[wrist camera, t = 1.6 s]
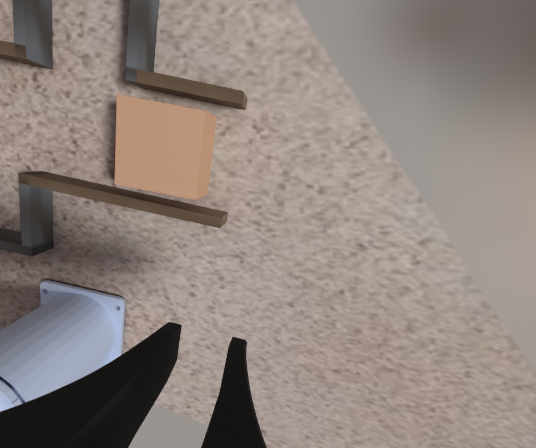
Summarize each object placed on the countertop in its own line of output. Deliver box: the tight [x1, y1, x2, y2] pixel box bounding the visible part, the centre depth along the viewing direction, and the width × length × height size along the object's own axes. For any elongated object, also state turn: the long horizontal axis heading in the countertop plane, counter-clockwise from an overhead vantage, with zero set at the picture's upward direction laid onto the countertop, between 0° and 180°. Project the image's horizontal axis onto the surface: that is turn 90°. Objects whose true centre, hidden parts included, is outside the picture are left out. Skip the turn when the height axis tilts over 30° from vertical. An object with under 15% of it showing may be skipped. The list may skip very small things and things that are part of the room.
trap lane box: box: [0, 0, 247, 256], centre depth 19 cm, size 22×30×2 cm
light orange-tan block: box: [115, 94, 217, 200], centre depth 19 cm, size 6×6×3 cm
